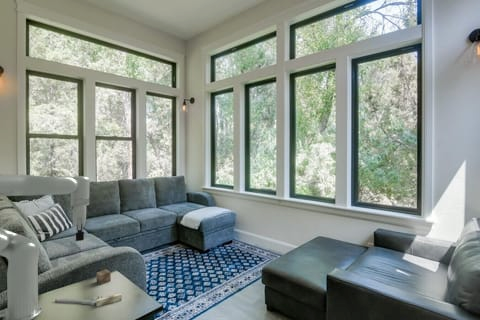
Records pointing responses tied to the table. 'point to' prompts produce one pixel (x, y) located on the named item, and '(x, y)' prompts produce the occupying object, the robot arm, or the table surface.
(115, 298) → the rail
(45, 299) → the table surface
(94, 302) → the caliper
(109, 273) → the walnut block
